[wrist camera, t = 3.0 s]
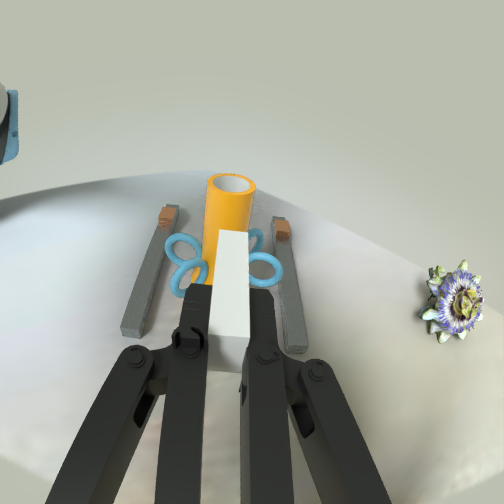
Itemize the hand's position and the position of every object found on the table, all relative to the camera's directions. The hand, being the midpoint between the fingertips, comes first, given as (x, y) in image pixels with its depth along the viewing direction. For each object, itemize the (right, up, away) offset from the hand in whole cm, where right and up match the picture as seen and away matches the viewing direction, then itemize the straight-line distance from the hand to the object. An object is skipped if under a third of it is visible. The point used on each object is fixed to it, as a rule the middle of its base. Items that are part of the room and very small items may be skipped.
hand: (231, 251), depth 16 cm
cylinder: (-3, -6, +17) cm, 19 cm away
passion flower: (+28, -10, +20) cm, 36 cm away
